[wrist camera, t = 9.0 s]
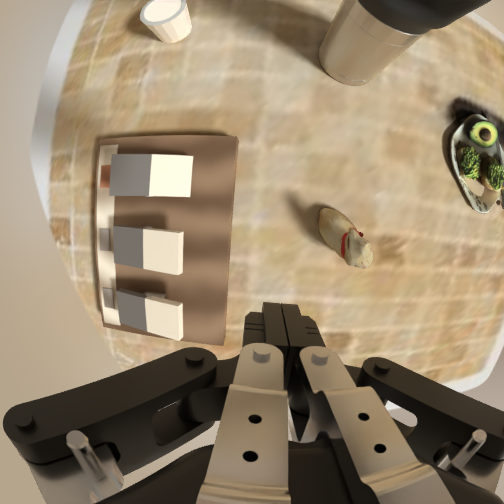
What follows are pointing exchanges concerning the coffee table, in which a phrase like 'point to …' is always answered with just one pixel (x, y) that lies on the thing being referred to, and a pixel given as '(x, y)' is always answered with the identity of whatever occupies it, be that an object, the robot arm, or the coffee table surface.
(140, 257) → the rocker mid
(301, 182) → the coffee table surface
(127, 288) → the switch console
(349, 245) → the chocolate bunny
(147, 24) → the white tapered cup
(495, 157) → the salad plate
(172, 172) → the rocker
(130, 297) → the rocker
